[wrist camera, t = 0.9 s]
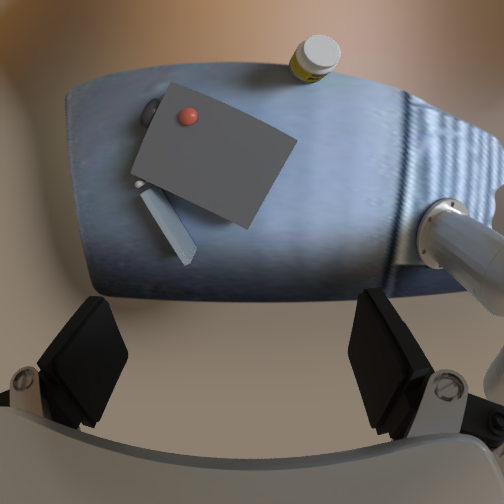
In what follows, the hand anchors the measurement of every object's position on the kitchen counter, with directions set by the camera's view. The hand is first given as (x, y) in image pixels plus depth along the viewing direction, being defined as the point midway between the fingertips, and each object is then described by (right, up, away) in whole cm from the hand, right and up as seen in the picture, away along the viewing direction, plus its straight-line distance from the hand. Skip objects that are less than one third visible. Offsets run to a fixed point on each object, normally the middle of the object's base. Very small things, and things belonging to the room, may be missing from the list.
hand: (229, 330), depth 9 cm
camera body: (-5, +16, +24) cm, 29 cm away
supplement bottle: (+8, +27, +19) cm, 34 cm away
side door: (-10, +7, +28) cm, 30 cm away
